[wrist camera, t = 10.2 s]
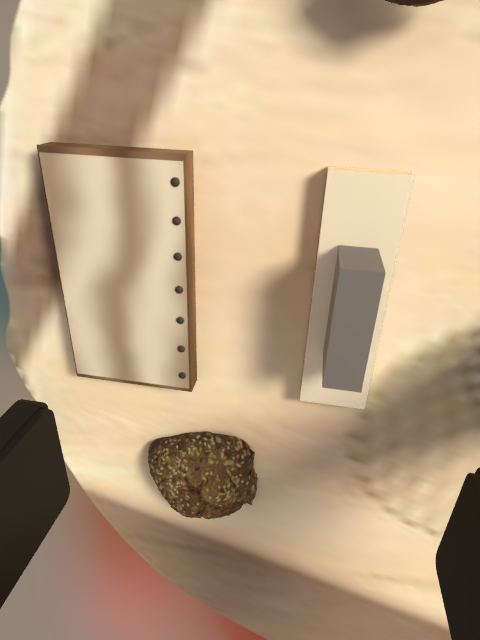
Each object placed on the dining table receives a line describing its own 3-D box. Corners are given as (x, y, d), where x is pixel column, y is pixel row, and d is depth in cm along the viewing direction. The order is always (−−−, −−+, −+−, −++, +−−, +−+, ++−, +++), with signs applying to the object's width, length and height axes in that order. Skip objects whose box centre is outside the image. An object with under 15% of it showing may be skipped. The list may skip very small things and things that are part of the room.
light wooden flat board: (192, 150, 34) (184, 154, 32) (196, 379, 45) (190, 393, 43) (50, 142, 36) (34, 145, 34) (86, 365, 47) (75, 377, 45)
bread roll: (143, 428, 50) (125, 461, 46) (249, 426, 47) (241, 460, 43) (171, 507, 56) (158, 543, 51) (267, 509, 53) (262, 547, 48)
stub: (410, 171, 32) (428, 190, 27) (363, 398, 42) (368, 448, 37) (328, 166, 33) (327, 183, 27) (300, 390, 43) (296, 437, 37)
